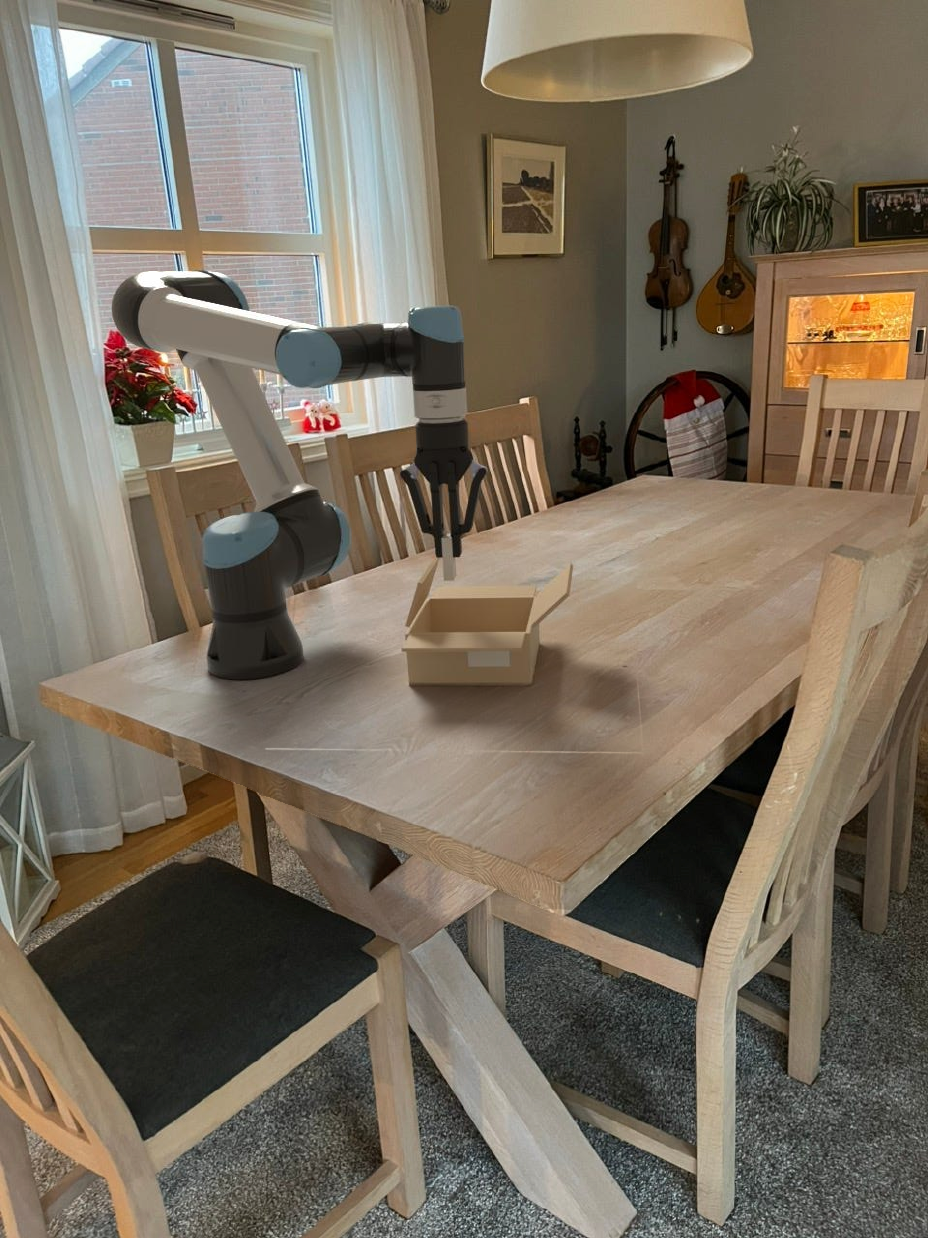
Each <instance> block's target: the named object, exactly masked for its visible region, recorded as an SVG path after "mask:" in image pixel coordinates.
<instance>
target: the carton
mask: <svg viewBox="0 0 928 1238" xmlns="http://www.w3.org/2000/svg"><path fill="white" fill-rule="evenodd" d="M536 593H537V585H491V586H490V585H489V586H488V585H487V586H486V585H485V586H483V585H482V586H479V585H478V586H477V585H476V586H475V585H474V586H437V587H436V589H435V590H434V591H433V593H432V595H431V597H427V598H426V600H425V602H424V603H423V605H422V607H421V608H420V610H419V612H418V613H417V615H416V617H415V618H414V620H413V622H412V624H411V625H410V627H407V630H406V632H405V633H404V636H405V637H404V638H405V641H404V644H403V645H402V647H401V652H402V653H406V663H407V665H406V666H407V674H408V675H407V677H408V686H412V687H413V686H415V687H416V686H418V687H419V686H423V687H424V686H426V687H427V686H432V687H433V686H434V687H435V686H439V687H440V686H443V687H445V686H447V687H448V686H452V687H453V686H456V687H457V686H458V687H460V686H461V687H462V686H463V687H464V686H465V687H467V686H471V687H472V686H476V687H477V686H479V687H482V686H484V687H485V686H486V687H487V686H489V687H491V686H493V687H494V686H497V687H499V686H500V687H501V686H502V687H504V686H505V687H507V686H509V687H510V686H512V687H514V686H515V687H517V686H518V687H520V686H521V687H525V686H528V687H529V686H530V687H531V686H533V681H534V676H535V669H536V665H537V660H538V654H539V649H540V645H541V644H540V643H541V642H540V641H541V639H540V623H539V624H538V625H537V626H536V627H535V628H533V627H532V626H531V624H532V619H533V615H534V611H535V606H536V602H537V598H538V595H536Z"/></svg>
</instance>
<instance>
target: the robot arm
mask: <svg viewBox="0 0 928 1238" xmlns="http://www.w3.org/2000/svg"><path fill="white" fill-rule="evenodd" d="M111 301H112V302H111V315H112V321H113V323H114V325H115V327H116V330H118V332H119V334H120V335H121V336H122V337H123V338H124V339H125V340H126V341H127V342H129V343H131V344H132V345H133V346H136V347H139V348H142V349H146V350H152V351H154V352H158V353H159V352H160V353H169V352H173V351H176V353H177V355H178V358H179V359H180V361H181V364H182V366H183V367H184V368H187V369H190V370H192V371H194V372H196V374H197V376H198V379H199V380H200V381H199V382H200V383H201V385H202V387H203V390H204V391H205V393H206V396H207V399H208V400H209V402H210V405H211V407H212V409H213V410H214V411H213V412H214V414H215V415H216V418H217V420H218V422H219V425H220V427H221V429H222V431H223V433H224V435H225V437H226V439H227V442H228V444H229V445H230V448H231V450H232V452H233V455H234V456H235V459H236V461H237V464H238V465H239V467H240V469H241V472H242V474H243V476H244V478H245V480H246V483H247V484H248V487H249V489H250V491H251V493H252V496H253V498H254V500H255V501H256V503H255V504H256V506H255V508H254V511H247V512H244V513H240V514H232V515H229V516H227V517H224V518H221V519H218V520H217V521H215V522H212V523H211V524H210V525H208V526H207V528H206V529H205V530H204V532H203V534H202V538H201V541H202V542H201V543H202V550H203V551H202V562H203V563H204V570H205V577H206V583H207V588H208V596H209V597H208V598H209V602H210V604H209V605H210V608H211V609H210V610H211V615H212V616H211V617H212V625H211V630H210V631H211V632H210V637H209V642H208V646H207V652H206V663H207V669H208V671H209V673H210V675H211V674H212V675H213V676H215V677H217V678H222V679H227V680H254V679H261V678H266V677H267V678H268V677H271V676H275V675H280V674H282V673H285V672H288V671H290V670H292V669H294V668H297V666H298V665H300V664H301V663H302V662H303V661H304V658H305V657H304V655H305V654H304V648H303V643H302V640H301V639H300V636H299V633H298V632H297V630H296V628H295V626H294V624H293V621H292V620H291V617H290V615H289V613H288V606H287V598H286V597H287V596H286V589H288V588H291V587H293V586H296V585H299V584H301V583H304V582H307V581H309V580H312V579H315V578H321V577H323V576H325V575H328V573H331V572H332V571H334V570H336V569H338V568H339V567H341V566H342V565H343V563H344V562H345V561H346V559H347V558H348V556H349V549H350V547H351V546H352V545H351V542H352V533H351V527H350V524H349V521H348V519H347V517H346V515H345V513H344V512H343V511H342V509H340V508H339V506H335V504H333V503H331V502H328V501H327V502H326V501H323V498H322V496H321V495H320V492H319V490H318V487H316V486H313V485H311V484H308V483H306V482H305V481H304V479H303V477H302V475H301V471H300V470H299V468H298V466H297V463H296V461H295V459H294V457H293V454H292V452H291V450H290V448H289V446H288V444H287V441H286V439H285V437H284V435H283V433H282V430H281V429H280V426H279V424H278V422H277V420H276V418H275V417H276V416H274V413H273V411H272V408H271V407H270V404H269V402H268V399H267V398H266V396H265V393H264V392H263V388H262V386H261V385H260V383H259V381H258V379H257V376H256V374H255V372H254V369H256V370H260V371H263V372H268V373H271V374H275V375H280V376H281V377H282V378H283V379H285V380H286V382H288V384H289V385H290V386H294V387H296V388H301V389H302V388H305V389H306V388H310V389H311V388H312V389H319V388H322V387H326V386H331V385H337V384H343V383H349V382H357V381H364V380H370V379H376V378H390V377H391V378H392V377H393V378H394V377H395V378H396V377H398V378H399V377H405V378H410V377H411V380H412V392H413V393H412V394H413V395H412V396H413V412H414V417H415V418H416V419H418V421H417V422H416V423H415V426H414V427H415V440H416V441H415V442H416V443H415V444H416V453H415V456H414V457H413V463H412V464H410V465H409V466H407V467H404V468H403V469H402V470H401V471H400V472H399V476H400V478H401V479H402V480H403V482H404V483H405V484H406V486H407V489H408V492H409V494H410V497H411V502H412V504H413V508H414V511H415V514H416V517H417V521H418V524H419V527H420V530H421V532H422V533H423V534H428V535H431V536H432V537H433V538H434V539H433V541H434V550H435V555H434V556H436V557H437V558H439V559H441V558H442V570H443V571H442V573H443V581H444V582H446V581H447V582H450V581H451V582H452V581H455V579H456V576H457V565H456V558H460V557H461V555H462V552H463V546H462V545H463V544H462V535H463V534H466V533H467V534H468V533H469V532H471V530H472V529H473V527H474V522H475V517H476V513H477V511H476V510H477V507H478V501H479V496H480V491H481V486H482V481H483V480H484V478H485V476H486V475H487V473H488V471H489V467H488V465H485V464H483V465H482V464H481V463H478V462H477V461H476V460H474V457H473V454H472V452H471V451H470V450H471V449H470V445H469V443H470V441H469V424H468V423H469V422H468V421H467V420H466V419H465V418H464V417H466V415H468V401H467V400H468V399H467V387H466V380H465V379H466V378H465V335H464V328H463V318H462V311H461V310H460V308H458V307H457V306H455V305H439V306H437V305H436V306H418V307H411V308H410V309H409V311H408V314H407V315H408V317H407V321H404V322H378V323H377V322H376V323H375V322H366V323H365V322H362V323H357V324H351V325H343V326H342V325H340V326H318V325H313V324H308V323H304V322H299V321H295V320H290V319H286V318H281V317H277V316H272V315H267V314H262V313H258V312H253V311H250V306H249V303H248V300H247V298H246V295H245V294H244V292H243V290H242V289H241V287H240V286H239V285H238V284H237V282H235V281H234V280H233V279H232V278H230V277H229V276H228V275H226V274H223V273H221V272H218V271H217V272H215V271H208V270H204V269H203V270H202V269H198V270H197V269H196V270H192V271H142V272H139V273H136V274H132V275H130V276H129V277H128V278H126V279H124V280H123V281H122V282H121V283H120V284H119V286H118V287H117V288H116V289H115V292H114V294H113V297H112V300H111ZM468 469H470V473H469V474H470V477H471V478H472V480H471V484H470V488H469V489H470V490H469V495H468V500H467V504H466V505H467V506H466V508H465V515H464V520H463V523H462V519H461V517H462V516H461V515H462V514H461V502H460V501H461V499H460V482H461V480H462V479H463V478H464V476H465V475H466V473H467V471H468ZM418 471H419V472H420V474H421V475H422V476H423V477H424V478H425V479H426V481H427V482H428V483H429V488H430V495H431V511H432V512H431V514H432V516H431V517H432V520H431V518H430V514H429V511H428V507H427V505H426V502H425V499H424V495H423V492H422V489H421V488H422V487H421V484H420V482H419V480H418V478H419V472H418ZM443 484H444V485H447V492H448V503H449V504H448V506H449V523H450V533H444V532H445V525H444V504H443Z"/></svg>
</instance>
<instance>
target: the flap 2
mask: <svg viewBox="0 0 928 1238" xmlns="http://www.w3.org/2000/svg"><path fill="white" fill-rule="evenodd" d="M573 570H574V565H573V564H572V562H570V563H569V564H568V565H566V566H565V568H563V570H561V571H560V572H559V573H558V574H557V575H556V576H554V578H553V579H552V580H550V582H548V583H547V585H545V586H544V587H543V588H542V589H541V590H540V591H539V592H538V594H537V596H538V598H537V602H536V606H535V611H534V615H533V619H532V624H531V626H532V627H533V628H535V627H536V626H537V625H538V624H539V625H540V624H541V622H542V621H544V620H545V619H546V618H547V617H548V616H549V615H550V614H551V613H553V612H554V610H556V609H557V608H558V607H559V606H560V605H561V604H562V603H563V602H564V601H565V600H566V599H568V597H570V594H571V587H572V578H573Z"/></svg>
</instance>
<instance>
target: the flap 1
mask: <svg viewBox="0 0 928 1238" xmlns="http://www.w3.org/2000/svg"><path fill="white" fill-rule="evenodd" d="M439 562H440V558H437V557H436V555H434V558H433V559H432V561H431V562H430V564H429V565H428V567H427V569H426V570H425V571H424V572H423V575H422V576H421V577H420V578H419V580H418V581H417V585H416V588H415V592H414V596H413V599H412V602H411V606H410V608H409V612H408V615H407V619H406V623H405V627H407V628H409V627H410V625H411V624H412V622H413V620H414V618H415V617H416V615H417V613H418V612H419V610H420V608H421V607H422V605H423V603H424V602H425V600H426V598H429V597H428V596H429V595H430V594H429V593H430V591H431V588H432V585H433V581H434V577H435V575H436V572H437V568H438V565H439Z"/></svg>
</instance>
